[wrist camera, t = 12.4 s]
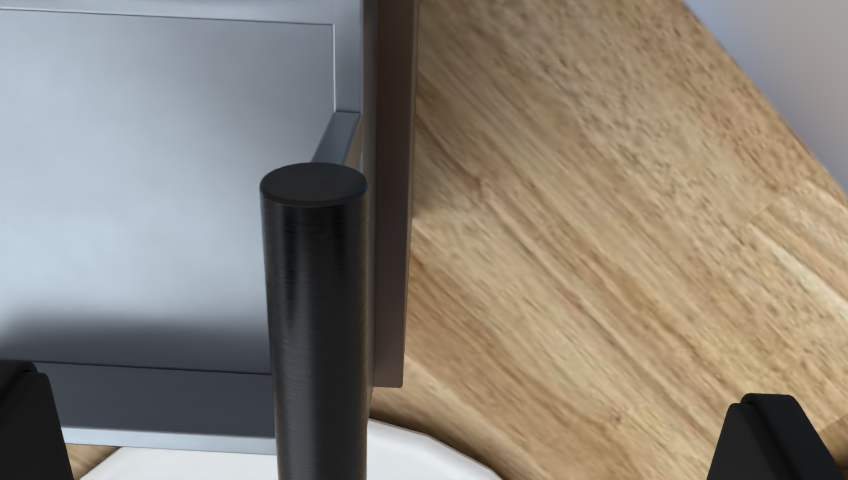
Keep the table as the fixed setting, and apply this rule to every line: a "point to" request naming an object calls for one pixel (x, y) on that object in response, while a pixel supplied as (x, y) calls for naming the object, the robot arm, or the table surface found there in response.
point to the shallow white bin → (194, 222)
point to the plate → (257, 474)
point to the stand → (394, 182)
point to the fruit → (845, 473)
